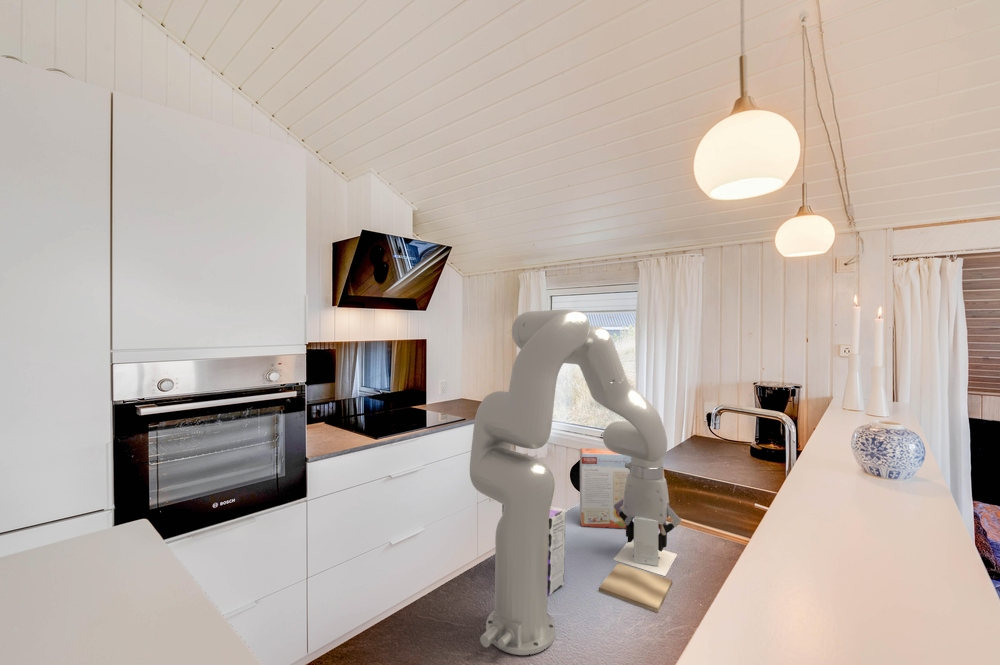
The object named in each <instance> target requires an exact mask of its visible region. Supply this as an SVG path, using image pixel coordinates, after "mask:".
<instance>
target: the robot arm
mask: <svg viewBox="0 0 1000 665" xmlns="http://www.w3.org/2000/svg"><path fill="white" fill-rule="evenodd" d="M511 336H512V339H513V340H512V341H513V342H514V344H515V345H516V347H517V348H519V349H520V350H519V352H518V354H517V355H516V357H515V360H514V362H513V364H512V369H511V374H510V375H511V376H510V382H509V387H508V388H509V389H508V391H505V390H504V391H502V390H500V391H494V392H491V393H489V394H487V395H486V396H485V397H484V398H483V399H482V400H481V401H480V404H479V405H478V408H477V410H476V413H475V415H474V416H475V418H474V423H473V432H472V439H471V440H472V441H471V447H470V448H471V449H470V458H469V477H470V482H471V483H472V486H473V488H475V489H476V491H478V492H479V493H481V494H482V495H484V496H486V497H488V498H490V499H493V500H495V501H497V502H498V503H500V504H503V505H504V508H505V509H504V513H503V515H502V514H501V515H502V516H501V517H500V519H499V520H498V522H497V525H496V530H495V539H494V540H495V543H494V544H495V559H494V560H495V561H494V562H495V563H494V564H495V566H494V567H495V568H494V569H495V570H494V609H493V610H492V611H491V612H490V613H489V615H488V616H487V618H486V622H485V631H484V633H483V634H481V636H480V638H479V641H480V644H481V645H482V646H483V647H484V648H488V647H490V646H491V645H493V646H494V647H496V648H497V649H499V650H500V651H502V652H504V653H508V654H511V655H515V656H516V655H518V656H528V655H529V654H530V655H535V654H537V653H541V652H542V651H544V649H545V650H546V649H547V648H549V647H550V646H551V645H552V643H553V642H554V640H555V638H556V624H555V621H554V619H553V617H552V616H551V615H550V614H549V613H548V595H547V578H548V524H549V514H550V508H551V506H552V503H553V499H554V495H555V494H554V492H555V487H556V486H555V477H554V475H553V471H552V470H551V469H550V467H549V466H548V465H547V464H546V463H544V462H543V461H541V460H540V459H538V458H535V457H534V456H531V455H527V454H525V453H521V452H518V451H514V450H512V449H511V447H512V446H516V447H520V448H524V449H529V450H530V449H531V450H534V449H535V450H537V449H540V448H542V447H544V446H545V445H546V444H547V443H548V441H549V439H550V437H551V431H552V428H553V426H552V424H553V418H554V417H553V416H554V408H555V398H556V387H557V380H558V376H559V373H560V371H561V368H562V367H563V365H564V364H569V365H570V364H572V365H577V366H578V367H579V368H580V371H581V373H582V376H583V378H584V380H585V383H586V385H587V387H588V390H589V393H590V396H591V398H592V399H593V400H594V401H596V402H597V403H598V404H599V405H601V406H602V407H604V408H605V409H607V410H609V411H611V412H612V413H615V414H617V415H619V416H620V417H622V418H623V419H625V420H626V421H613V422H611V423H610V424H608V425H607V426H606V428H605V429H604V431H603V434H602V441H603V444H604V447H606V449H609V450H610V451H612V452H614V453H617V454H621V455H625V456H630V457H631V462H630V463H625V468H628V469H629V470H630V473H629V474H627V478H626V483H625V490H624V498H623V499H622V500H620V501H619V502H617V503H616V504H615V505H614V508H615V509H616V511H617V512H618V513H619V516H620V517H621V518H622V520H623V521H624V524H625V525H626V528H625V536H626V538H627V542H631V541H634V516H638V517H643V518H647V519H651V520H655V521H658V522H659V530H658V531H659V532H658V550H659V551H661V552H662V550H664V549H665V548H666V547H667V545H668V540H667V539H668V537H667V536H668V533H670V532H671V531H672V530H674V529H675V528H676V527H677V526H679V525H680V524H681V523H682V519H681V517H679V515H678V514H676V512H675V511H674V510H673V509H672V508H671V506H670V498H669V490H668V483H667V479H666V478H665V477H664V458H665V456H666V453H667V451H668V437H667V433H666V429H665V426H664V423H663V421H662V417H661V416H660V414H659V412H658V410H657V409H656V407H655V406H653V404H652V403H651V402H650V401H649V400H648V399H647V398H646V397H645V396H644V395H643V394H642V393H640V392H639V390H637V389H636V388H635V387H633V386H632V385H631V384H630V383H629V380H628V379H627V375H626V372H625V370H624V367H623V365H622V362H621V360H620V356H619V354H618V351H617V348H616V345H615V343H614V340H613V338H612V335H611V334H610V333H609V331H608V330H606V329H605V328H603V327H600V326H596V325H594V326H593V325H590V321H589V318H588V317H587V315H586V314H585V313H583V312H581V311H580V310H576V309H549V310H548V309H547V310H532V311H525V312H523V313H521V314H519V315H518V316H517V317H516V318H515V320H513V323H512V326H511ZM622 506H623V508H622ZM669 518H670V519H671V522H668V523H667V519H669ZM530 655H529V656H530Z"/></svg>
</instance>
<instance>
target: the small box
mask: <svg viewBox="0 0 1000 665" xmlns="http://www.w3.org/2000/svg"><path fill="white" fill-rule="evenodd" d="M633 522H634V539H633V542H634V562H636V563H642V564H649V565H655V566H658V535H659V531H660V530H659V522H658V521H655V520H651V519H647V518H643V517H638V516H634V518H633Z"/></svg>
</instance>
